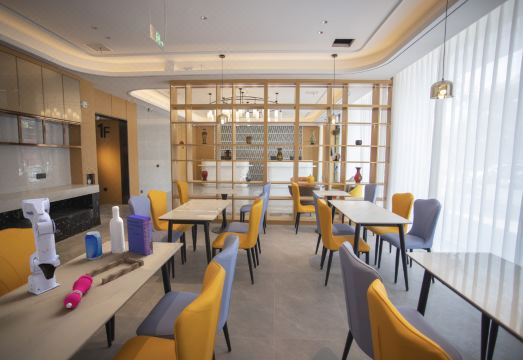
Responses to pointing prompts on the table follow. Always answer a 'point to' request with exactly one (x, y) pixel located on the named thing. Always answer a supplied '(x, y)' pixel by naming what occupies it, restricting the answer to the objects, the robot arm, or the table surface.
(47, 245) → the robot arm
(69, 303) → the pepper mill
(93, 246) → the beer can
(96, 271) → the u rest
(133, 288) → the table surface
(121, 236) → the bottle
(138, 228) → the cereal box
